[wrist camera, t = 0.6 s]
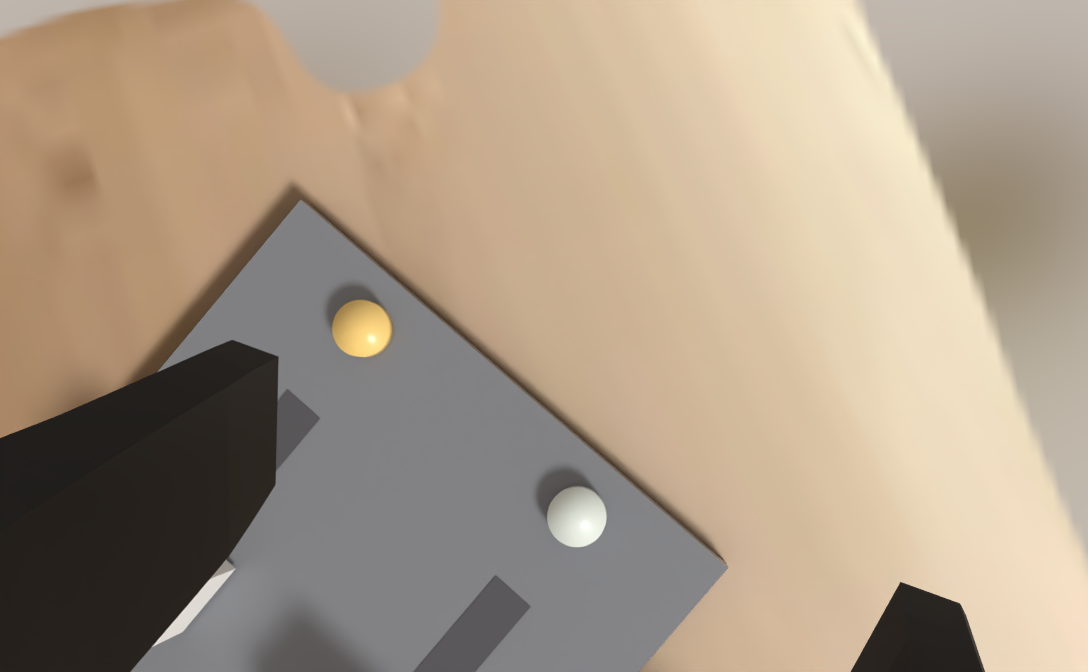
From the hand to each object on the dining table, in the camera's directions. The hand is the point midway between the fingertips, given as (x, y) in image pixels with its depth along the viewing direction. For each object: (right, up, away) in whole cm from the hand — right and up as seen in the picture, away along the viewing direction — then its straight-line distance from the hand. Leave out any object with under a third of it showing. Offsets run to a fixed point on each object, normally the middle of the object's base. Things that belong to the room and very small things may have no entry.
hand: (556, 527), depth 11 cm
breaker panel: (-7, -6, +26) cm, 28 cm away
